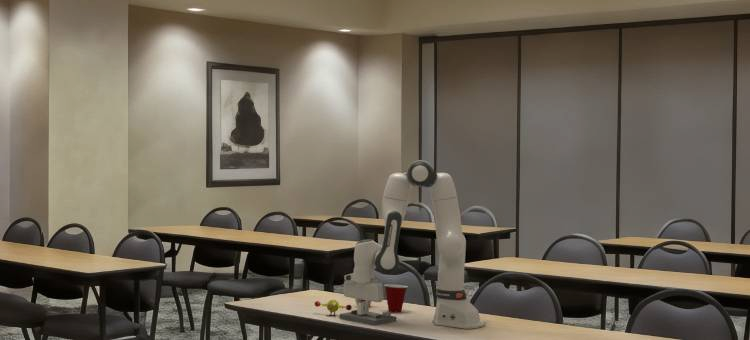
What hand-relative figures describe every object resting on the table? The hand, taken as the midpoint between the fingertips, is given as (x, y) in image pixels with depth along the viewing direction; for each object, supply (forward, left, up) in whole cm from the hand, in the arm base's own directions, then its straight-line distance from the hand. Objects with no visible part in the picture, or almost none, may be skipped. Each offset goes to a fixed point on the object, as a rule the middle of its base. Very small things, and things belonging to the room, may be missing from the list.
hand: (362, 309), depth 403 cm
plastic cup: (+4, -26, -4) cm, 27 cm away
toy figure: (+15, +3, -4) cm, 16 cm away
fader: (0, 0, -2) cm, 2 cm away
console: (-2, -1, -4) cm, 5 cm away
